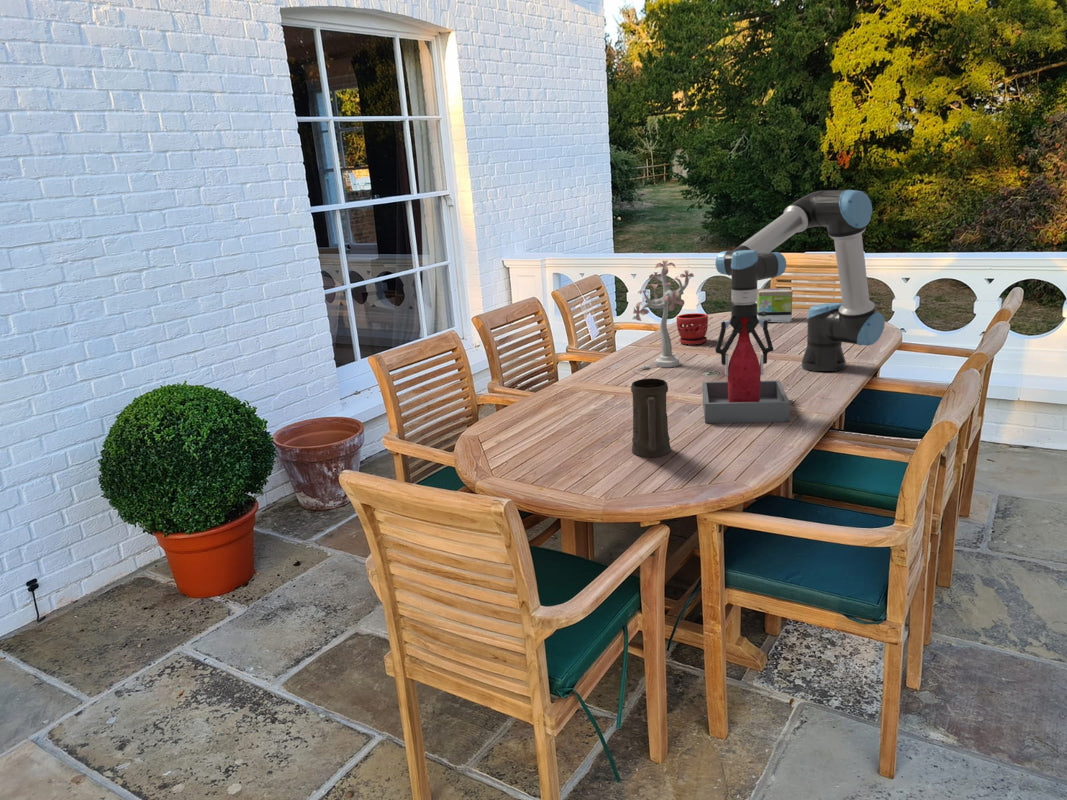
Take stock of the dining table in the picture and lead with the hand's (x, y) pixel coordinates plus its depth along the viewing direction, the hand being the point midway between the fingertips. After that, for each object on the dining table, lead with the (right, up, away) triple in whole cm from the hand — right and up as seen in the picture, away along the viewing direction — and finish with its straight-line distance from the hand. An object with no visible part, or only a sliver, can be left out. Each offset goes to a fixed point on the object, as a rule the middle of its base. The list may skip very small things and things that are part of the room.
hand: (743, 374), depth 248 cm
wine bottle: (+1, -9, +3) cm, 10 cm away
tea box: (+47, +29, +127) cm, 139 cm away
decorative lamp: (-15, +5, +63) cm, 65 cm away
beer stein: (-32, -23, -28) cm, 48 cm away
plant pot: (+3, +16, +96) cm, 98 cm away
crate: (+1, -11, +3) cm, 12 cm away
